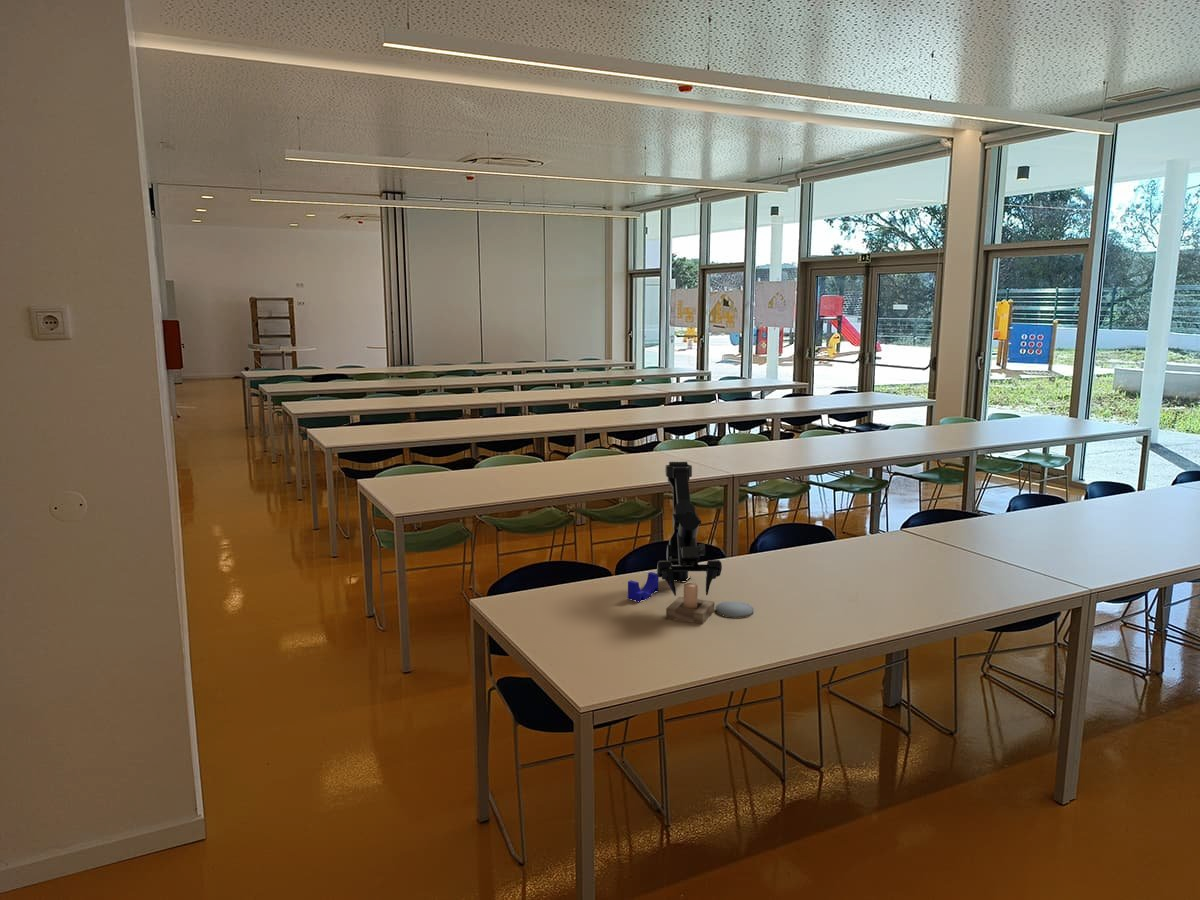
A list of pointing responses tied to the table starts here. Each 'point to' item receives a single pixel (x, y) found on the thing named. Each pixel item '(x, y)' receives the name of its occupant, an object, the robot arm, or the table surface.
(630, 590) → the cable clip
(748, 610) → the slate mat
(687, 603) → the post
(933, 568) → the table surface
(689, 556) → the robot arm
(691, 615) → the pocket block
